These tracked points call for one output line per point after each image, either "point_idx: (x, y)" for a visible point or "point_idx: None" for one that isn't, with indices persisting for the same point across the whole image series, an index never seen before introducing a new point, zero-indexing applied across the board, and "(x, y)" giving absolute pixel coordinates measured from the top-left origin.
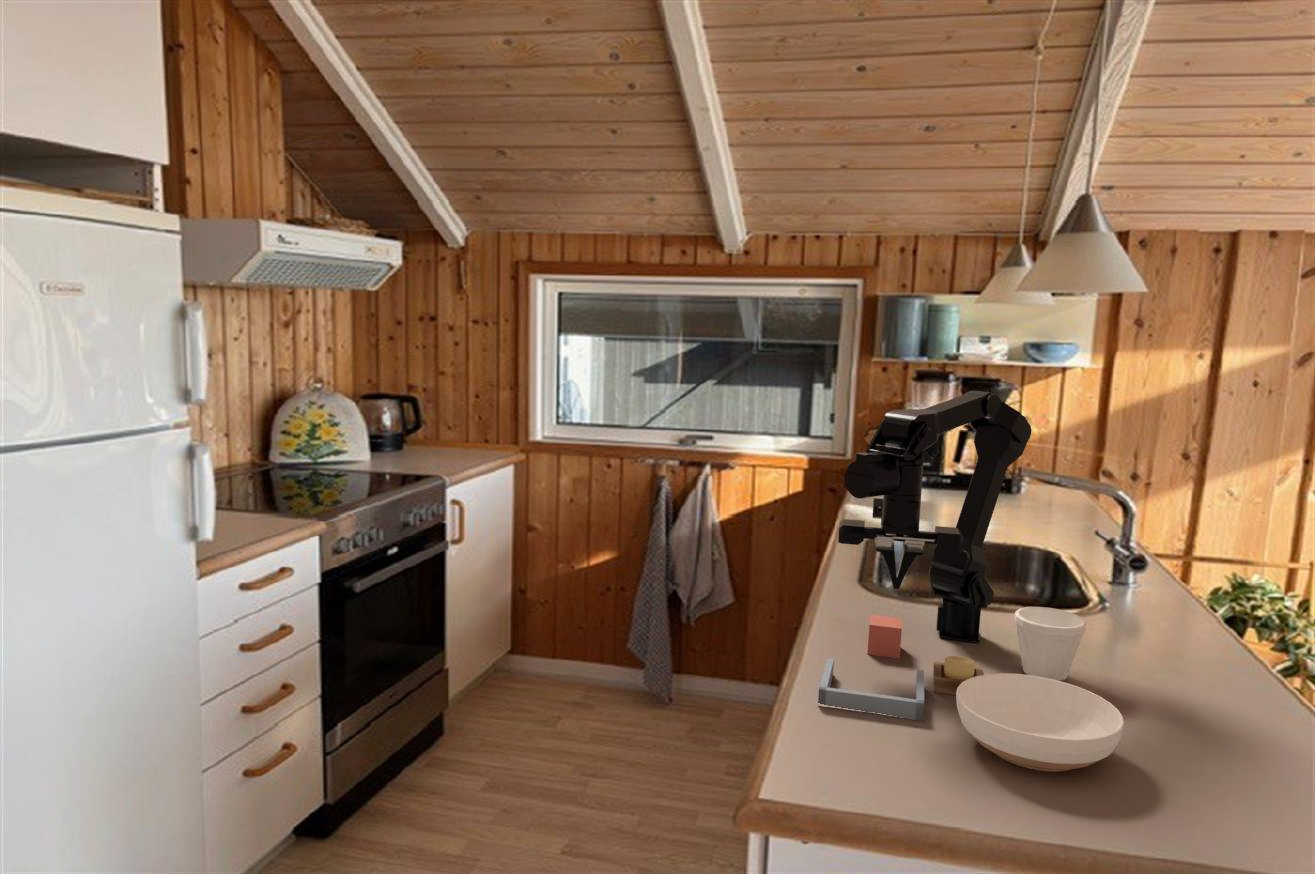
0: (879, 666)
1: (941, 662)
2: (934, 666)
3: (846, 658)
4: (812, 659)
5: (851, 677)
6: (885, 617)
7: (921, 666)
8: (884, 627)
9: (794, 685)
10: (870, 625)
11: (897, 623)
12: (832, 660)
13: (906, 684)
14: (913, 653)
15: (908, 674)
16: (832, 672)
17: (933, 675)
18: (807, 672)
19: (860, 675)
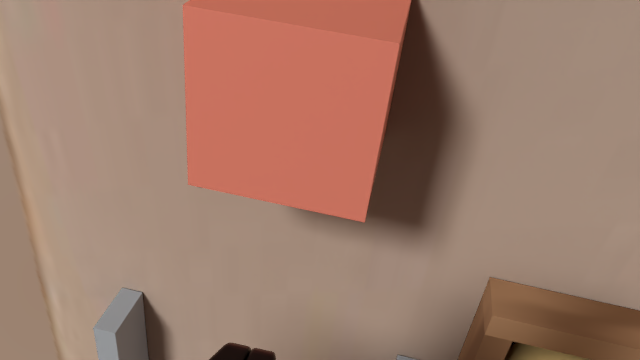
0: (290, 224)
1: (524, 323)
2: (479, 352)
3: (165, 163)
4: (53, 184)
5: (198, 305)
6: (281, 39)
7: (464, 212)
8: (271, 199)
9: (61, 348)
10: (195, 183)
11: (350, 147)
12: (113, 343)
13: (368, 345)
14: (468, 68)
15: (391, 281)
16: (135, 330)
17: (472, 338)
18: (68, 278)
19: (224, 292)
